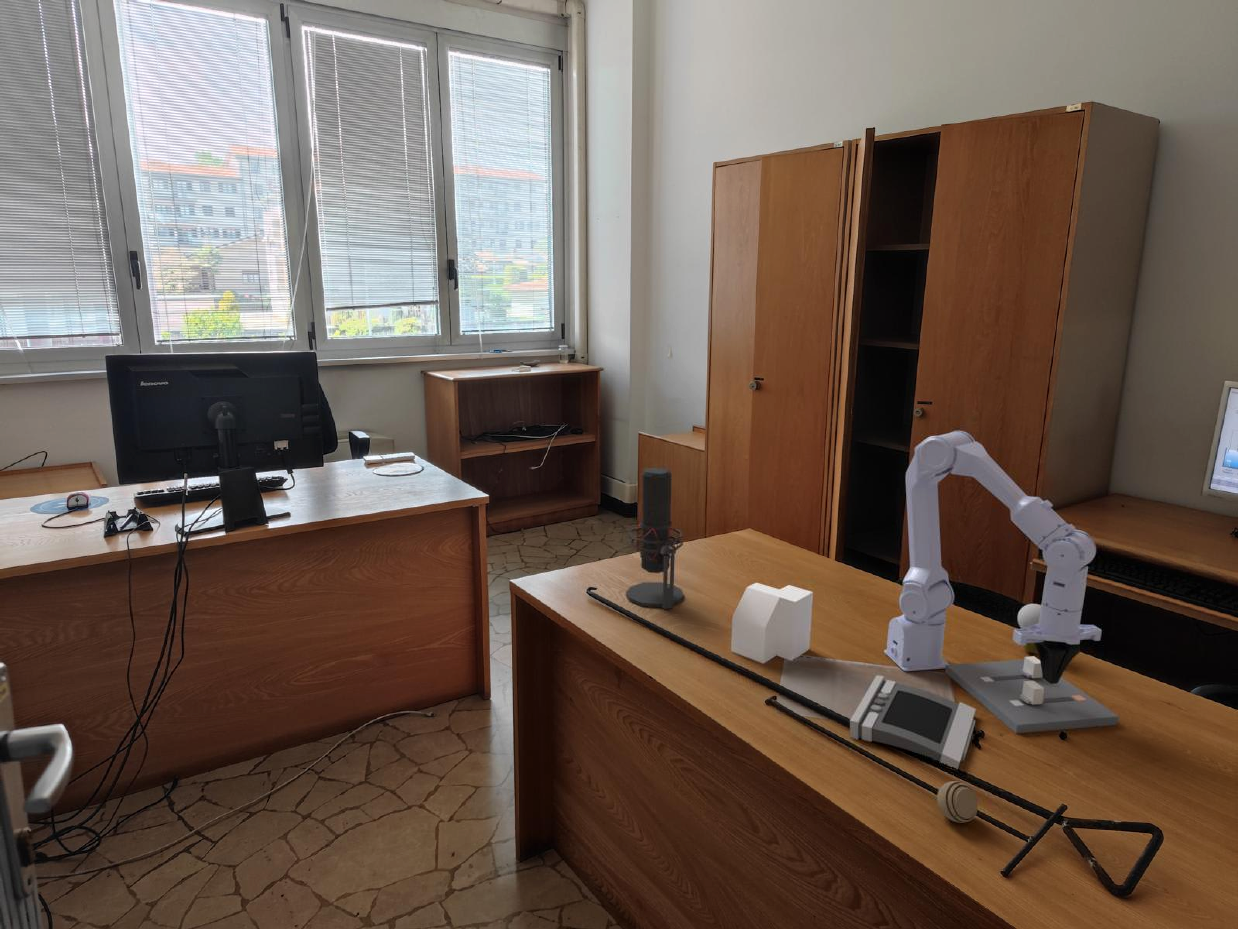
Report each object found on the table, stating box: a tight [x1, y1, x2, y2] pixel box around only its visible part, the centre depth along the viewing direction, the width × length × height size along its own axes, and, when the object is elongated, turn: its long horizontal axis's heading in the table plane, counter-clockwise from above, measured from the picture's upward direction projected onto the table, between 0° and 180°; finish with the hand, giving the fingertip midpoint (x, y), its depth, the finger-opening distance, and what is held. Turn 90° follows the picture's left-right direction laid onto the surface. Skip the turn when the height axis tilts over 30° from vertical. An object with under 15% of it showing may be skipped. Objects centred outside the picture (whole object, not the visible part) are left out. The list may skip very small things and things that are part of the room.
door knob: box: [936, 780, 979, 824], centre depth 99 cm, size 5×5×5 cm
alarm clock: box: [849, 674, 977, 770], centre depth 120 cm, size 17×5×16 cm
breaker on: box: [1021, 655, 1043, 678], centre depth 134 cm, size 3×3×3 cm
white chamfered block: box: [730, 582, 814, 664], centre depth 145 cm, size 11×11×12 cm
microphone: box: [625, 467, 685, 610], centre depth 169 cm, size 14×13×30 cm
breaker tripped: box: [1020, 681, 1044, 705], centre depth 125 cm, size 3×3×3 cm
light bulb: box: [1017, 603, 1041, 655], centre depth 145 cm, size 6×6×10 cm
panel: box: [944, 659, 1119, 734], centre depth 130 cm, size 18×20×2 cm
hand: (1050, 680), depth 125 cm, fingers closed
